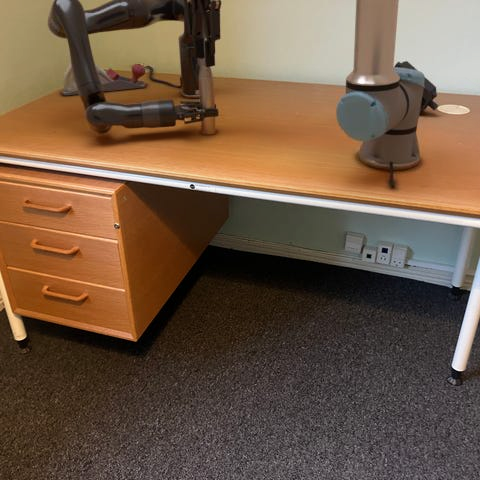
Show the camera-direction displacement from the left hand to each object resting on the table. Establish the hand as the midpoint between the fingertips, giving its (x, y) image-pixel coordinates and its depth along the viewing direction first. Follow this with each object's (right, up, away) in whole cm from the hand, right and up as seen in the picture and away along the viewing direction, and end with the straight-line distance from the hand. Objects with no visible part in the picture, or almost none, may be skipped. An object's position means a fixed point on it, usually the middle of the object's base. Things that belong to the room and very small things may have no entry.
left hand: (216, 109), depth 155 cm
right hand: (-3, +11, -7) cm, 13 cm away
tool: (+60, +4, +17) cm, 62 cm away
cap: (-3, +12, -8) cm, 15 cm away
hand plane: (-43, +18, +43) cm, 64 cm away
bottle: (-3, -6, +3) cm, 7 cm away
